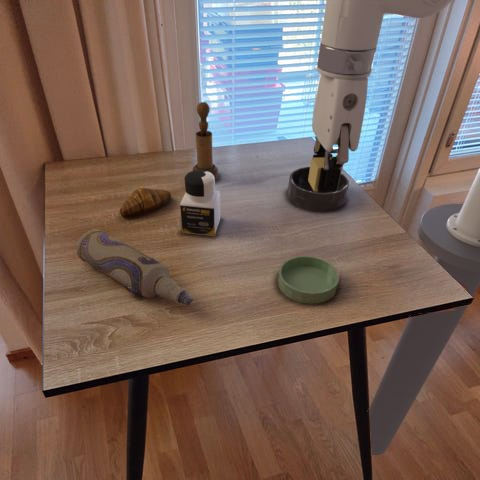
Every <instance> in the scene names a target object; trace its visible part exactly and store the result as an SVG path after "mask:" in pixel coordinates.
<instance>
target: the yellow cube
mask: <svg viewBox="0 0 480 480" xmlns="http://www.w3.org/2000/svg"><path fill="white" fill-rule="evenodd" d="M331 158H332V157H330V160H331ZM324 159H325V157H318V158H313V157H311V159H310V164H309V165H310V166H309V167H310V171H309V178H308V181H309V183H310V185H311V187H312V189H313V190H314V192H315V191H318V183H319V177H320V171H321V168H322V167H324ZM341 173H342V172H341ZM341 173H340V175H341ZM339 179H340V178H339ZM338 184H339V183H338ZM337 189H338V188H337Z"/></svg>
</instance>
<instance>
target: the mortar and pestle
mask: <svg viewBox="0 0 480 480" xmlns="http://www.w3.org/2000/svg"><path fill="white" fill-rule="evenodd" d="M210 111H211V109H210V105H209V103H207V102H206V101H201V102H198V104H197V106H196V112H197V114H198V116H199V122H198V128H199V131H197V132H195V144H196V145H195V146H196V164H195V165H194V166H193V167H192V171H195V170H204V171H208V172H210V173H212V174H213V175H214V177H215V182H216V181H218V179H219V167H217V166H216V165H215V164H214V159H213V157H214V156H213V132H212V131H210V130H208V128H209V122H208V121H207V118H208V116H209V114H210Z"/></svg>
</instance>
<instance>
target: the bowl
mask: <svg viewBox="0 0 480 480" xmlns="http://www.w3.org/2000/svg"><path fill="white" fill-rule="evenodd" d="M309 171H310V166H304V167H299V168H298V169H294V170H293V171H292V172H291V173H290V174H289V179H288V186H287V187H288V188H287V198H288V200H289V201H290V202H291V203H292V204H293V205H294V206H296V207H298V208H299V209H303V210H306V211H310V212H316V213H317V212H318V213H326V212H331V211H332V212H333V211H335V210H339V209H340V208H341V207H342V206H343V205H344V204H345V202H346V199H347V196H348V195H347V194H348V191H349V187H350V181H349V179H348V177H347V176H346V175H345V174H343V173H342V172H341V175H340V179H339V184H338V189H337V191H335V192H319V191H315V192H314V190H313V189H312V187H311V185H310V183H309V181H308V178H309Z"/></svg>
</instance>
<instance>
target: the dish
mask: <svg viewBox="0 0 480 480" xmlns="http://www.w3.org/2000/svg"><path fill="white" fill-rule="evenodd" d="M278 271H279V272H278V278H277V284H278V288H279V290H280V292H282V294H283V295H284V296H286V297H287V298H288V299H290V300H293V301H294V302H297V303H300V304H301V303H302V304H307V305H315V304H322V303H325V302H327V301H329V300H331V299H332V298H333V297H334V296H335V294H336V293H337V290H338V286H339V282H340V273H339V271H338V270H337V267H335V266H334V265H333V264H332V263H330V262H329V261H327V260H325V259H323V258H321V257H317V256H311V255H299V256H298V255H297V256H294V257H290V258H288V259H287V260H285V261H284V262H282V264H281V265H280V267H279V269H278Z"/></svg>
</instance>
